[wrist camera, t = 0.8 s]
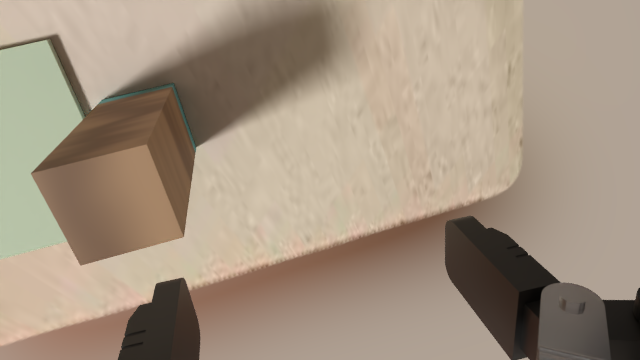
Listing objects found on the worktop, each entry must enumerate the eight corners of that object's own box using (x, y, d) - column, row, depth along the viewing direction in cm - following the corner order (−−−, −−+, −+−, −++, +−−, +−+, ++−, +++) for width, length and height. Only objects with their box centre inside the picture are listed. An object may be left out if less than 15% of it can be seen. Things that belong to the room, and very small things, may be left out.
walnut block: (173, 82, 31) (146, 144, 20) (196, 147, 33) (183, 237, 22) (102, 100, 31) (30, 173, 19) (129, 164, 33) (80, 265, 21)
